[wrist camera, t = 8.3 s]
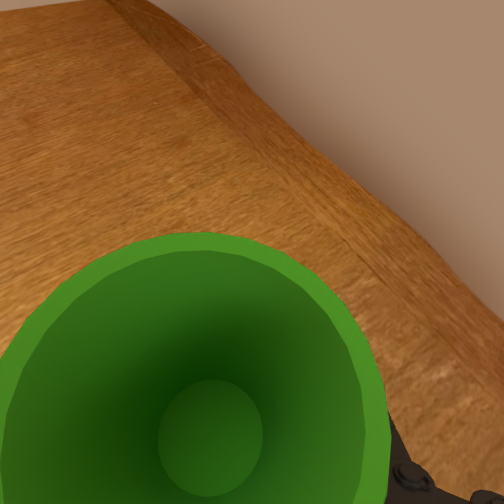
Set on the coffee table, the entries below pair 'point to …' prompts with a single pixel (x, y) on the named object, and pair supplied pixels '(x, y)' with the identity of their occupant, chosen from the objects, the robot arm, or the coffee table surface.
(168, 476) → the cup
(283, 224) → the coffee table surface
